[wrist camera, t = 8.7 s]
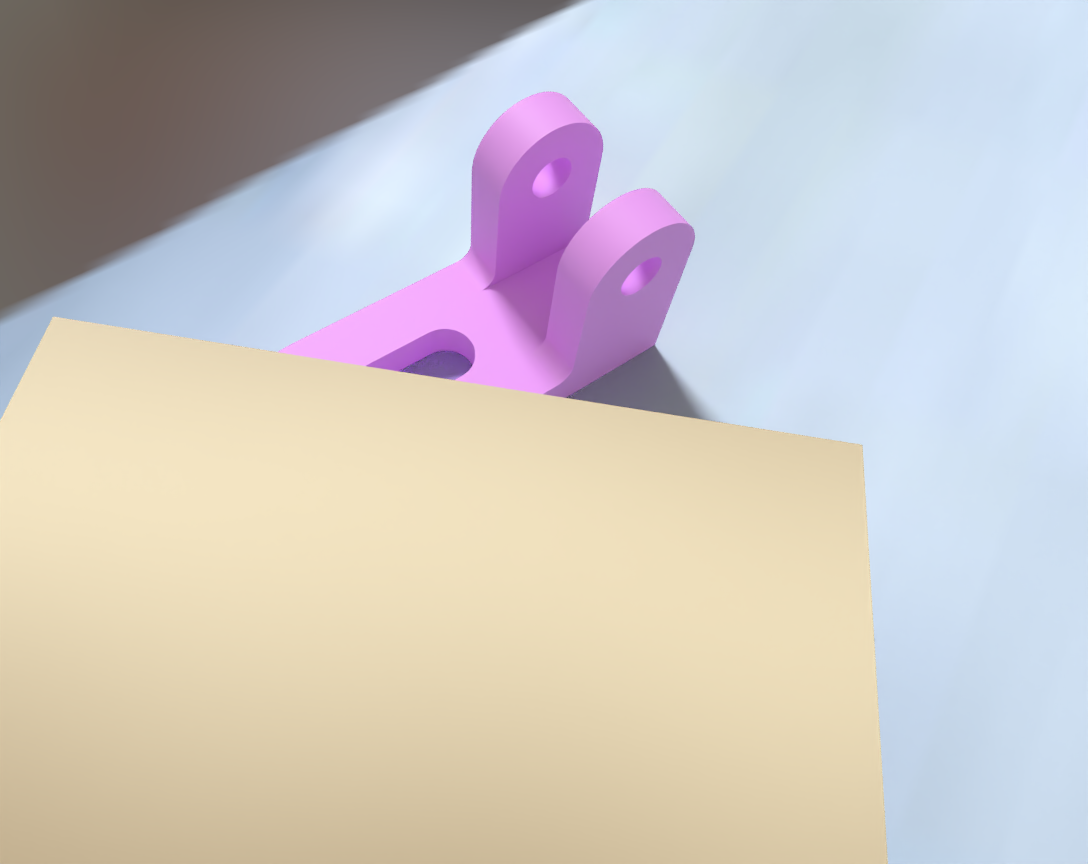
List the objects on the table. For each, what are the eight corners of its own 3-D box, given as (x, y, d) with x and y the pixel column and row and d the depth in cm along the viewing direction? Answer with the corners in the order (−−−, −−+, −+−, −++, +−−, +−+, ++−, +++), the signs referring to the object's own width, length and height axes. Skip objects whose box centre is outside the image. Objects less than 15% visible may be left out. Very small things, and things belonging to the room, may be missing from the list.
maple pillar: (309, 645, 14) (53, 316, 5) (615, 691, 14) (863, 445, 5) (210, 1023, 12) (-592, 1590, 3) (582, 1076, 12) (944, 1789, 3)
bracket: (557, 237, 29) (582, 73, 23) (653, 347, 27) (709, 202, 21) (217, 410, 25) (134, 265, 18) (305, 554, 23) (246, 448, 17)
